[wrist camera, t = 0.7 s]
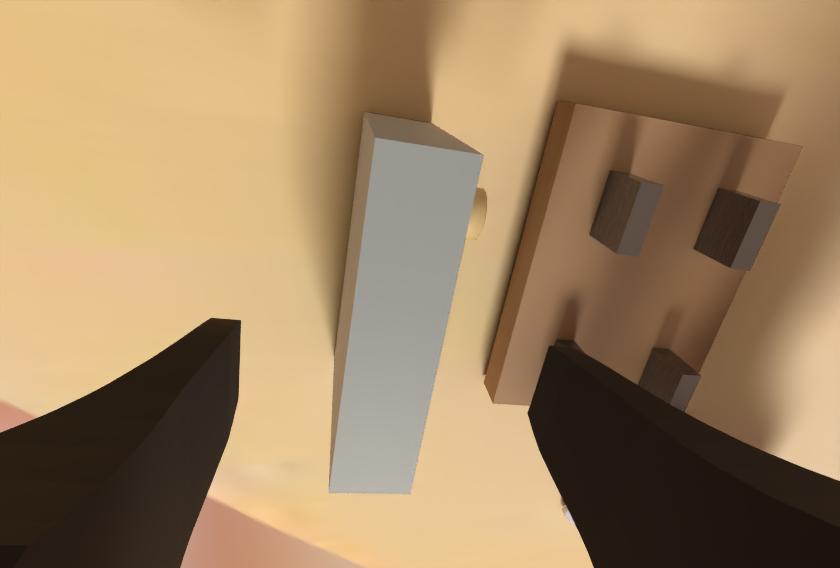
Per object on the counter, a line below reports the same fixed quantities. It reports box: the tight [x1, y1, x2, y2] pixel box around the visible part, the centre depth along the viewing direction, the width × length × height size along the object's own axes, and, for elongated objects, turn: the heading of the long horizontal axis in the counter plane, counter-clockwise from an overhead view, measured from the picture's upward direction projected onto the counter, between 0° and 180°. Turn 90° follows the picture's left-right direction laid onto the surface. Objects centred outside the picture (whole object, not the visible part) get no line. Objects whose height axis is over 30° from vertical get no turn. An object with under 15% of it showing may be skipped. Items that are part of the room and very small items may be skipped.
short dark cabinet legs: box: [554, 170, 781, 412], centre depth 18 cm, size 5×9×2 cm, turn 170°
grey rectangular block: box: [329, 112, 487, 494], centre depth 16 cm, size 3×10×7 cm, turn 170°
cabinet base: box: [484, 101, 803, 406], centre depth 20 cm, size 9×12×2 cm
